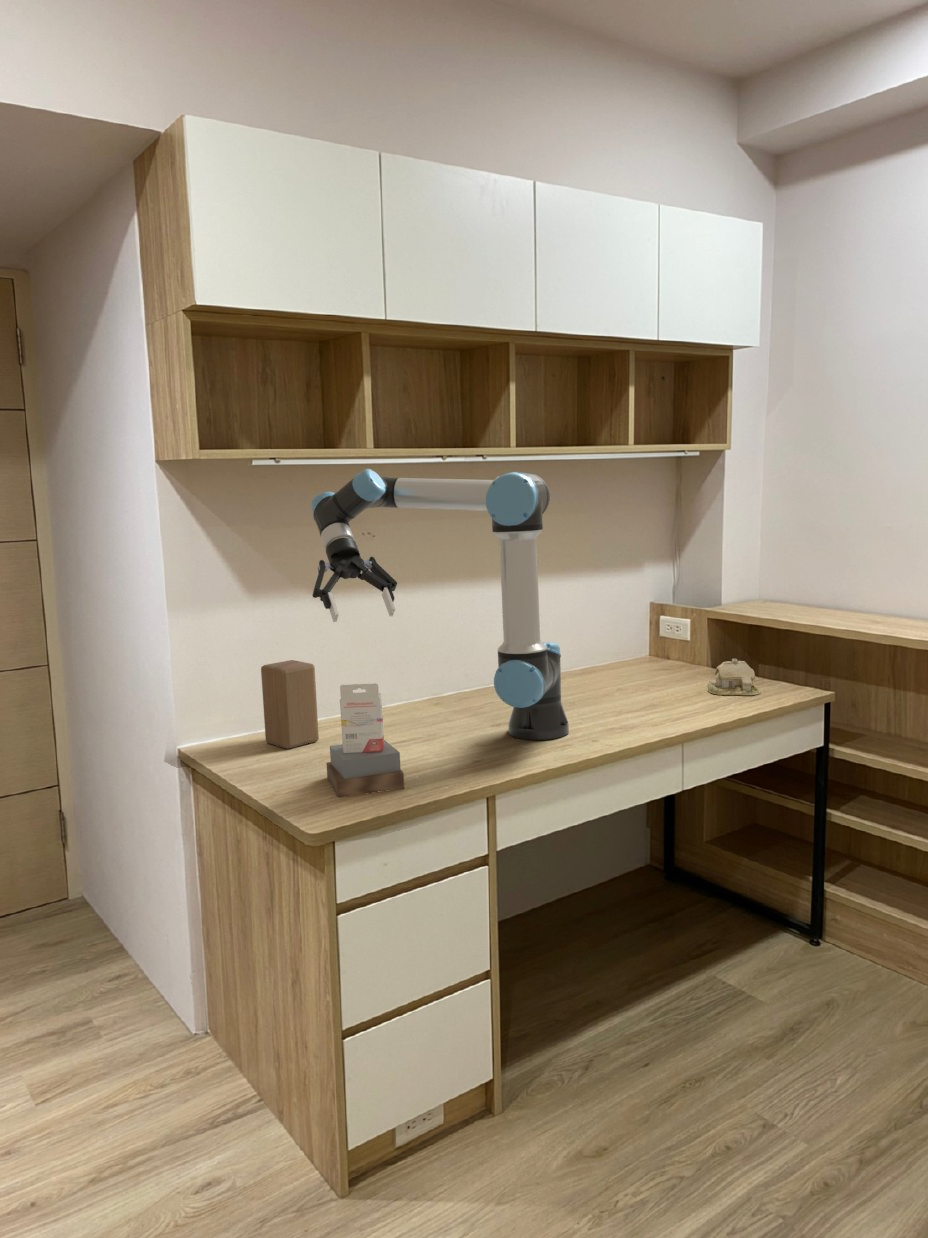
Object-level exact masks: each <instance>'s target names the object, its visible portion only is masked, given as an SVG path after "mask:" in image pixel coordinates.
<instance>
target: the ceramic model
mask: <svg viewBox="0 0 928 1238" xmlns="http://www.w3.org/2000/svg"><path fill="white" fill-rule="evenodd" d="M714 679H715V682H712V680H711V681H708V682H707V685H706V686H707V690H708V693H710V694H713V695H720V696H755V695H759V694H761V691H760V690H759V688H758V687H756V686H755V685H753V681H755V680H756V675H755V671H754V669H753V668H751V666H749V664H748V663H747V662H746V661H745V660H738V659H737V658H731V661H729V660H728V661H727V660H726V661H723V662H722V663H721V664H719V665H718V666H716V669H715V672H714Z"/></svg>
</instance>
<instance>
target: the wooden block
mask: <svg viewBox="0 0 928 1238" xmlns="http://www.w3.org/2000/svg"><path fill="white" fill-rule="evenodd" d="M260 667H261V668H260V674H261V675H260V676H261V688H262V689H261V690H262V691H261V692H262V703H263V716H264V717H263V718H264V735H265V741H266V743H268V744H269V745H274V746H276V747H280V748H283V749H287V750H289V749H293V748H297V747H301V746H304V745H308V743H309V744H313V743H316V742H318V741H319V738H320V737H319V723H318V722H319V719H318V703H317V687H316V672H315V670H316V669H315V665H314V663H310V662H304V661H299V660H295V659H290V660H284V661H280V662H279V661H278V662H273V663H267V664H264V665H262V666H260Z"/></svg>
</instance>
